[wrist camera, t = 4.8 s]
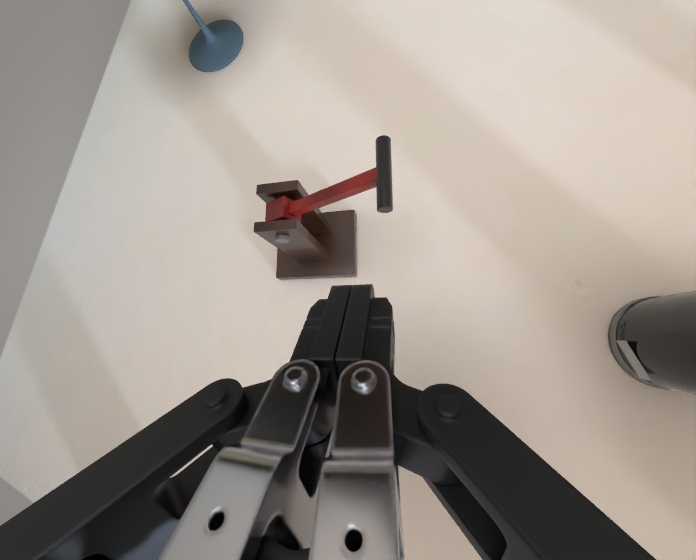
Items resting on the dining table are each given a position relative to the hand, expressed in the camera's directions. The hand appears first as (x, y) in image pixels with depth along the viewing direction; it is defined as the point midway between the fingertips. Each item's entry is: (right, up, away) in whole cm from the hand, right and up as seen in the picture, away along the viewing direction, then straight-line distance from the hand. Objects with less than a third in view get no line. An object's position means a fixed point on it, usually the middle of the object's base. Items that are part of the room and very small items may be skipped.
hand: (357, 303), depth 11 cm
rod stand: (-5, +6, +30) cm, 31 cm away
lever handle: (-2, +8, +17) cm, 19 cm away
